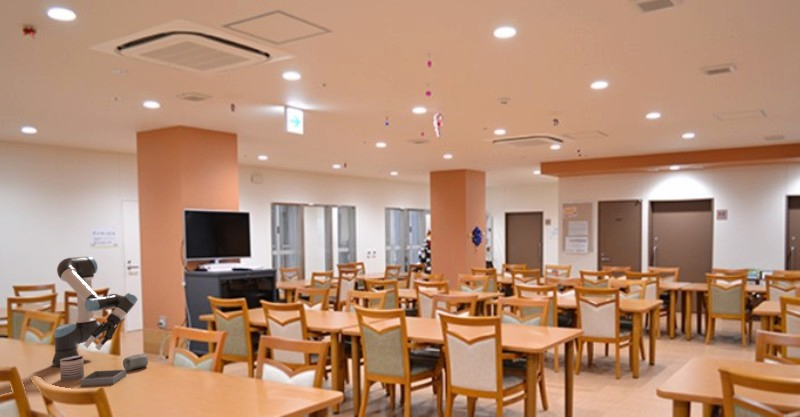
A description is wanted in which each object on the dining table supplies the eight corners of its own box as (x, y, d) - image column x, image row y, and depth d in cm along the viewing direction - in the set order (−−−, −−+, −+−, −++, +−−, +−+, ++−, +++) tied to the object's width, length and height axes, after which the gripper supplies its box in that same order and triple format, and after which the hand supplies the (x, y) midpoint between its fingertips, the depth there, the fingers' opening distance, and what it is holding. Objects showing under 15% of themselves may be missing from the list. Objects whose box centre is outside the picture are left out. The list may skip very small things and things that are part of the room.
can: (64, 382, 315) (63, 360, 315) (57, 379, 323) (56, 357, 323) (87, 377, 324) (86, 356, 324) (79, 374, 331) (79, 353, 332)
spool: (125, 367, 329) (126, 350, 334) (119, 373, 335) (121, 356, 340) (150, 368, 338) (151, 352, 343) (144, 373, 344) (144, 357, 349)
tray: (95, 377, 324) (95, 371, 324) (126, 375, 325) (125, 369, 325) (81, 386, 307) (80, 379, 307) (113, 384, 308) (113, 377, 308)
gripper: (131, 322, 339) (107, 353, 327) (110, 318, 354) (85, 348, 342) (122, 314, 335) (97, 346, 323) (101, 311, 350) (75, 341, 337)
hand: (91, 347), depth 332 cm, fingers open, 13 cm apart
